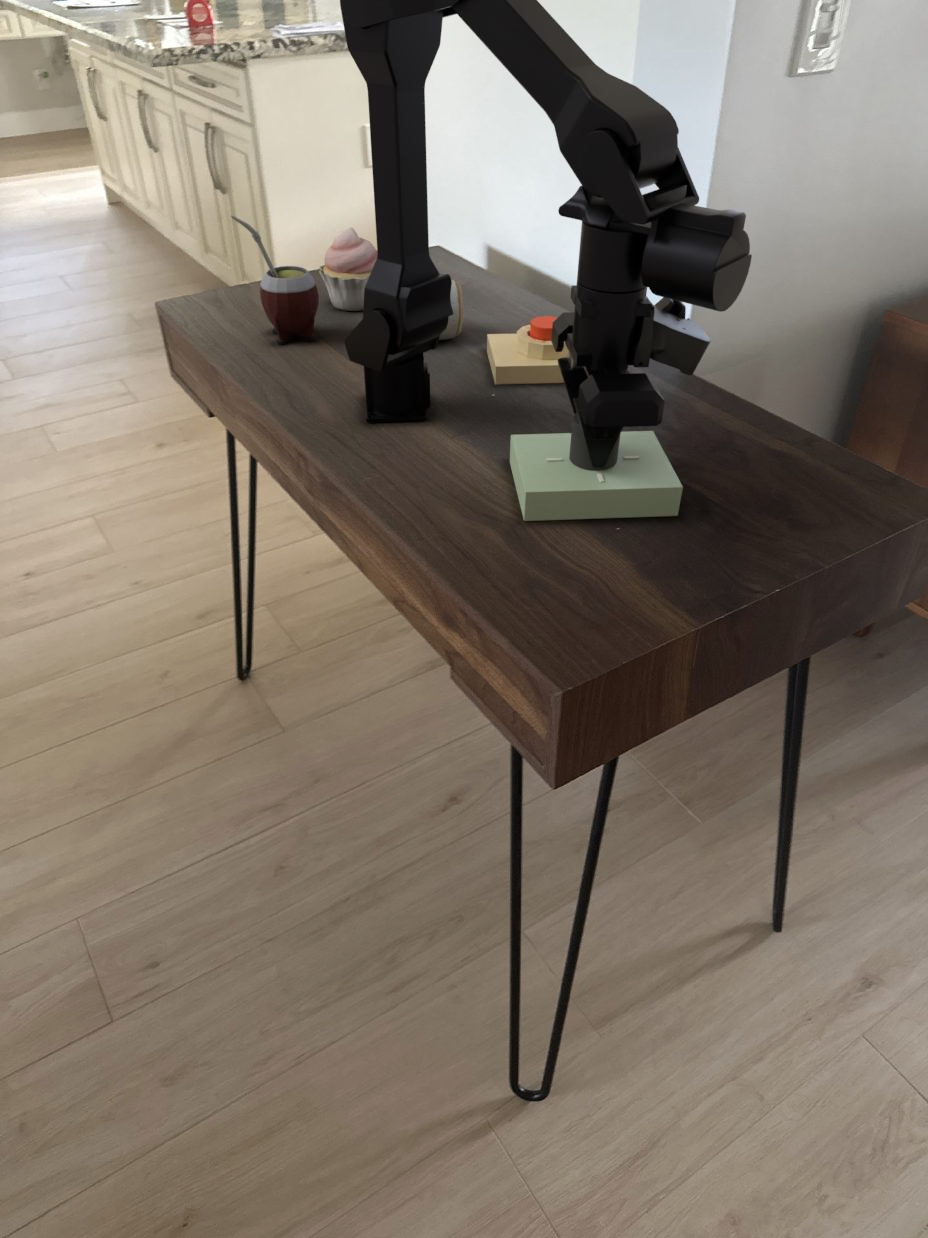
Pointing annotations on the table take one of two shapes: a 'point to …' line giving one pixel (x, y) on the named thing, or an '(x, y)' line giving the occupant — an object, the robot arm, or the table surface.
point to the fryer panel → (593, 479)
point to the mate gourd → (287, 297)
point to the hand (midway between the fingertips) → (593, 454)
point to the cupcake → (348, 269)
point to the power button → (542, 328)
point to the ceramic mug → (454, 313)
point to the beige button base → (523, 358)
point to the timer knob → (580, 452)
